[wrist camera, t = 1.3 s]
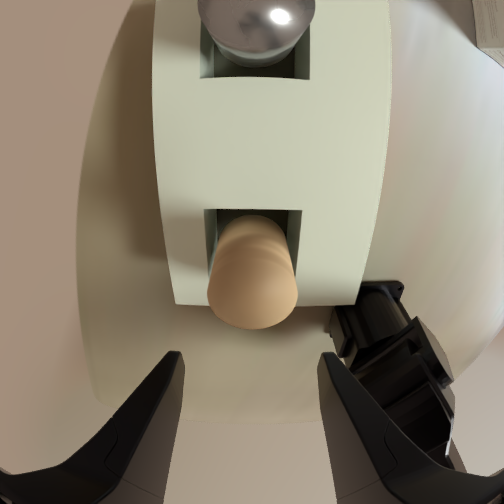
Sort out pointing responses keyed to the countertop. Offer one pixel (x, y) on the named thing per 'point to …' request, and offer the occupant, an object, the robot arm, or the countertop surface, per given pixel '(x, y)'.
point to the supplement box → (490, 27)
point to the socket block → (274, 145)
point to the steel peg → (256, 28)
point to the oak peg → (252, 274)
